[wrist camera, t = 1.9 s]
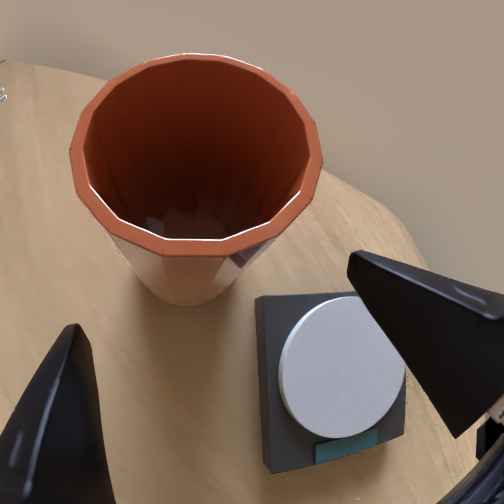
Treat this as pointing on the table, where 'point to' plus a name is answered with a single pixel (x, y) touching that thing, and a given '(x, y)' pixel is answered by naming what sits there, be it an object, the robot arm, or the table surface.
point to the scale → (324, 379)
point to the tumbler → (194, 169)
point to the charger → (3, 96)
